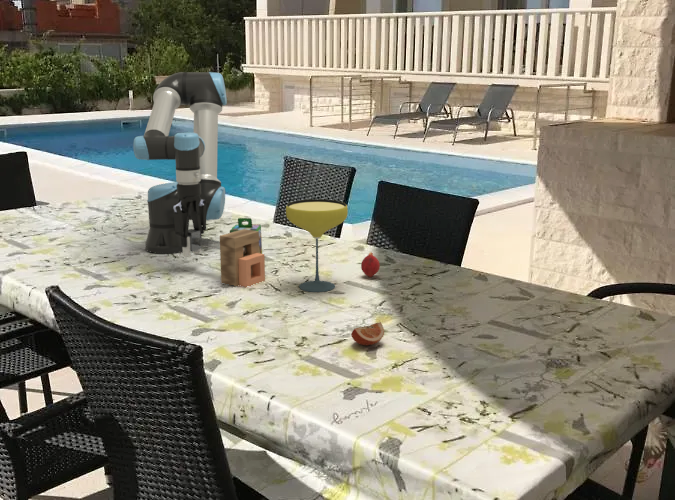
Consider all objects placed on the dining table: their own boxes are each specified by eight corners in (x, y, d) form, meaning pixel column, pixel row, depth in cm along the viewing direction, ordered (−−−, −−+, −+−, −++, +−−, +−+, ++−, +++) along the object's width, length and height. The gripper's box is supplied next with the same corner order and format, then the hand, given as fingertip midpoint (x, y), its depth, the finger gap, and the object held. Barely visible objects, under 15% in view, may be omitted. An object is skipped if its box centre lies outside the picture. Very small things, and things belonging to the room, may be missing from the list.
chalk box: (262, 257, 261) (261, 214, 257) (257, 264, 252) (256, 220, 248) (236, 256, 262) (235, 214, 258) (230, 263, 253) (228, 219, 249)
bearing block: (221, 283, 231) (219, 235, 227) (245, 274, 239) (243, 229, 236) (236, 286, 227) (234, 238, 224) (259, 278, 236) (258, 231, 232)
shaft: (183, 249, 242) (182, 231, 241) (192, 247, 245) (191, 229, 244) (239, 261, 229) (239, 241, 228) (248, 258, 232) (248, 239, 231)
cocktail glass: (340, 297, 217) (341, 212, 211) (279, 293, 221) (278, 209, 214) (352, 280, 234) (352, 200, 228) (295, 276, 238) (294, 198, 232)
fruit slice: (372, 336, 188) (372, 317, 186) (390, 344, 183) (390, 325, 181) (345, 344, 183) (346, 324, 182) (363, 352, 178) (363, 332, 176)
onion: (377, 280, 234) (378, 255, 232) (359, 279, 235) (359, 254, 233) (380, 275, 240) (381, 250, 238) (362, 274, 241) (363, 249, 239)
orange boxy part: (239, 286, 228) (238, 258, 226) (257, 279, 235) (256, 252, 233) (246, 287, 227) (246, 260, 225) (265, 280, 234) (264, 254, 231)
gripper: (177, 187, 229) (181, 262, 234) (216, 180, 242) (219, 251, 248) (159, 185, 233) (164, 258, 239) (199, 178, 246) (202, 247, 252)
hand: (192, 254), depth 243 cm, fingers closed on shaft, 4 cm apart
